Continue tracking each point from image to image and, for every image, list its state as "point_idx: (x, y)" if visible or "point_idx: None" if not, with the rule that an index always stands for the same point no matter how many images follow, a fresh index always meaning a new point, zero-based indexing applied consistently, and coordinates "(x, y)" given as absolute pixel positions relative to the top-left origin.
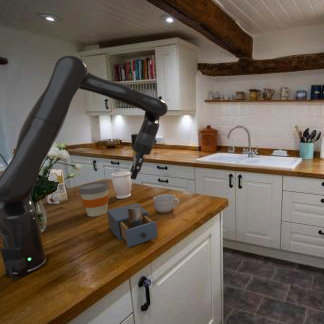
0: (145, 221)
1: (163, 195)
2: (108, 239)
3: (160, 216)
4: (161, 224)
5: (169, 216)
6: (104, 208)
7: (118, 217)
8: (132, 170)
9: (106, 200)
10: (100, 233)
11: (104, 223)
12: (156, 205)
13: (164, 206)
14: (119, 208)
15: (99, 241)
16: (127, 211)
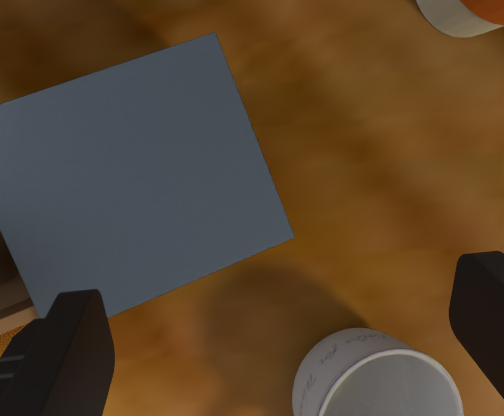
0: (18, 308)
1: (453, 412)
2: (49, 86)
3: (267, 353)
4: (143, 365)
5: (247, 408)
6: (453, 14)
7: (16, 129)
8: (481, 301)
9: (497, 8)
10: (150, 34)
11: (285, 41)
12: (326, 355)
13: (297, 408)
14: (219, 119)
15: (42, 41)
16: (125, 185)
